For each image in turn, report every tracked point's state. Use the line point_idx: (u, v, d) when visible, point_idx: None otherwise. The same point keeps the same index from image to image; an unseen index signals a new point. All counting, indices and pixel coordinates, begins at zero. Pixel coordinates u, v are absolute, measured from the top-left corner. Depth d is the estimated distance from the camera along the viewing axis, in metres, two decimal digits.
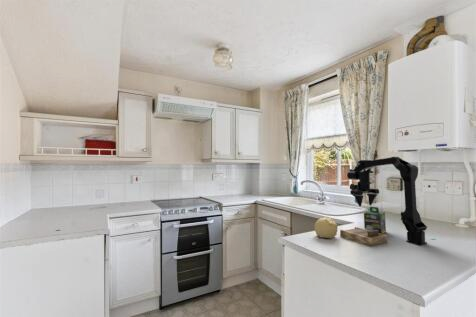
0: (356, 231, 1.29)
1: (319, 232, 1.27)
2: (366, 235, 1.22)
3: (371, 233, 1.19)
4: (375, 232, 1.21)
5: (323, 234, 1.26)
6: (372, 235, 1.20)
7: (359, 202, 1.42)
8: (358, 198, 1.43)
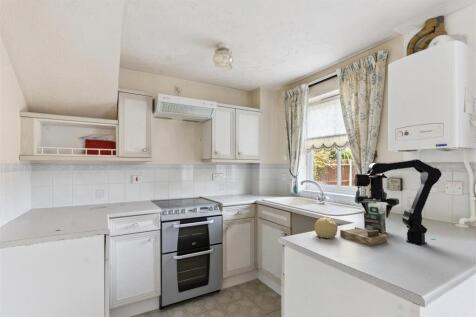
0: (356, 231, 1.29)
1: (319, 232, 1.27)
2: (366, 235, 1.22)
3: (371, 233, 1.19)
4: (375, 232, 1.21)
5: (323, 234, 1.26)
6: (372, 235, 1.20)
7: None
8: None
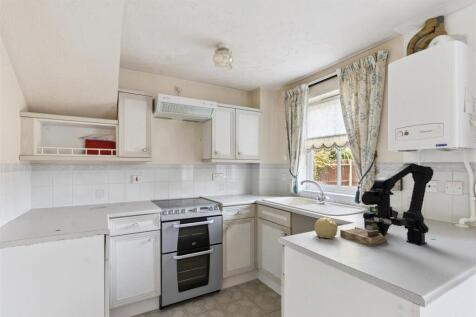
0: (356, 231, 1.29)
1: (319, 232, 1.27)
2: (366, 235, 1.22)
3: (371, 233, 1.19)
4: (375, 232, 1.21)
5: (323, 234, 1.26)
6: (372, 235, 1.20)
7: None
8: None
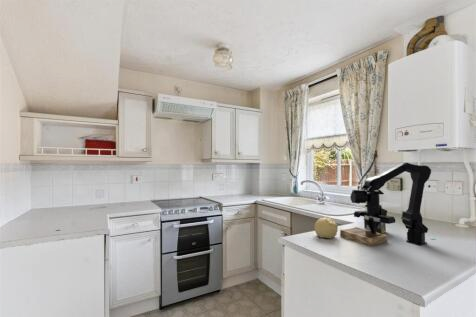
0: (354, 230, 1.30)
1: (319, 232, 1.27)
2: (364, 234, 1.23)
3: (369, 232, 1.20)
4: None
5: (323, 234, 1.26)
6: (370, 234, 1.21)
7: None
8: None
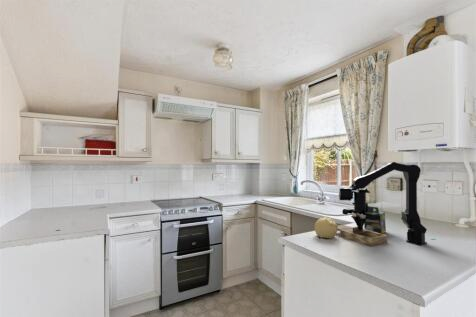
0: (342, 227, 1.36)
1: (319, 232, 1.27)
2: (351, 231, 1.29)
3: (356, 229, 1.27)
4: None
5: (323, 234, 1.26)
6: (357, 231, 1.27)
7: None
8: None
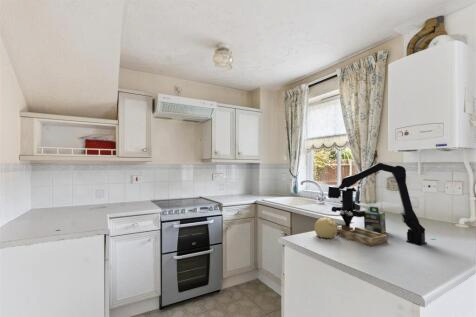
0: None
1: (319, 232, 1.27)
2: (340, 228, 1.35)
3: (344, 226, 1.34)
4: None
5: (323, 234, 1.26)
6: (345, 227, 1.34)
7: None
8: None
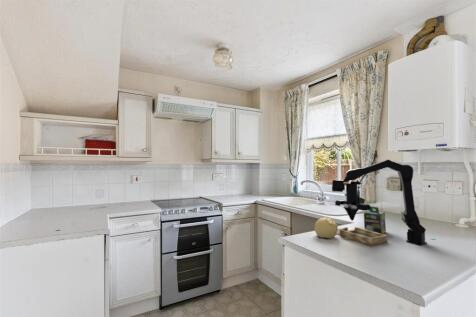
0: None
1: (319, 232, 1.27)
2: (338, 232, 1.37)
3: None
4: (345, 229, 1.37)
5: (323, 234, 1.26)
6: None
7: None
8: None
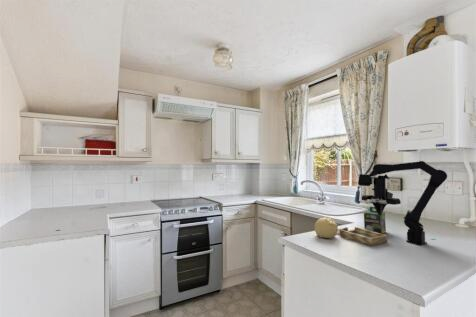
0: None
1: (319, 232, 1.27)
2: (338, 232, 1.37)
3: None
4: (345, 229, 1.37)
5: (323, 234, 1.26)
6: None
7: None
8: None
